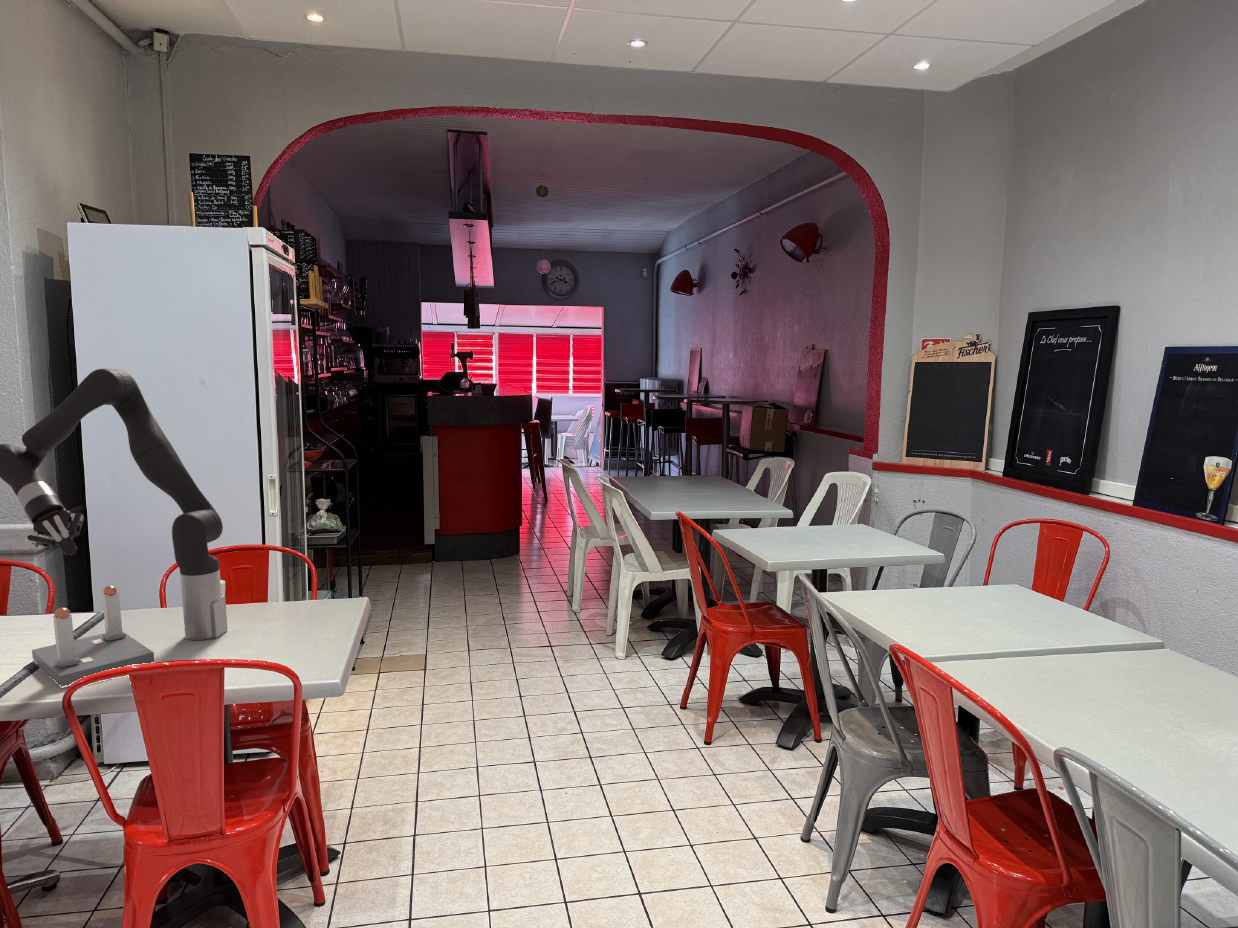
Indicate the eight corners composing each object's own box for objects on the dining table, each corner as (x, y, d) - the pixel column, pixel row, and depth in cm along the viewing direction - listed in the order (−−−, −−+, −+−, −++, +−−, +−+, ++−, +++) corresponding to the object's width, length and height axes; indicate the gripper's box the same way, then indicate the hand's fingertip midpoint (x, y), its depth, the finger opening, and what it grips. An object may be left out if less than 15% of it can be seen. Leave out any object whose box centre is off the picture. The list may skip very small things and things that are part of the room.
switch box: (33, 661, 197) (31, 649, 197) (121, 640, 211) (119, 628, 211) (61, 688, 181) (60, 674, 181) (154, 664, 195) (153, 651, 195)
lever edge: (54, 663, 187) (48, 608, 185) (74, 658, 190) (69, 603, 188) (59, 667, 184) (53, 611, 183) (80, 662, 187) (74, 607, 186)
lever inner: (102, 637, 204) (97, 586, 202) (120, 633, 207) (116, 582, 205) (108, 640, 202) (103, 589, 200) (126, 636, 205) (121, 585, 203)
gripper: (5, 509, 198) (36, 560, 192) (63, 482, 204) (95, 530, 199) (18, 525, 204) (49, 574, 198) (74, 498, 211) (105, 545, 205)
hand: (72, 552), depth 199 cm, fingers closed
